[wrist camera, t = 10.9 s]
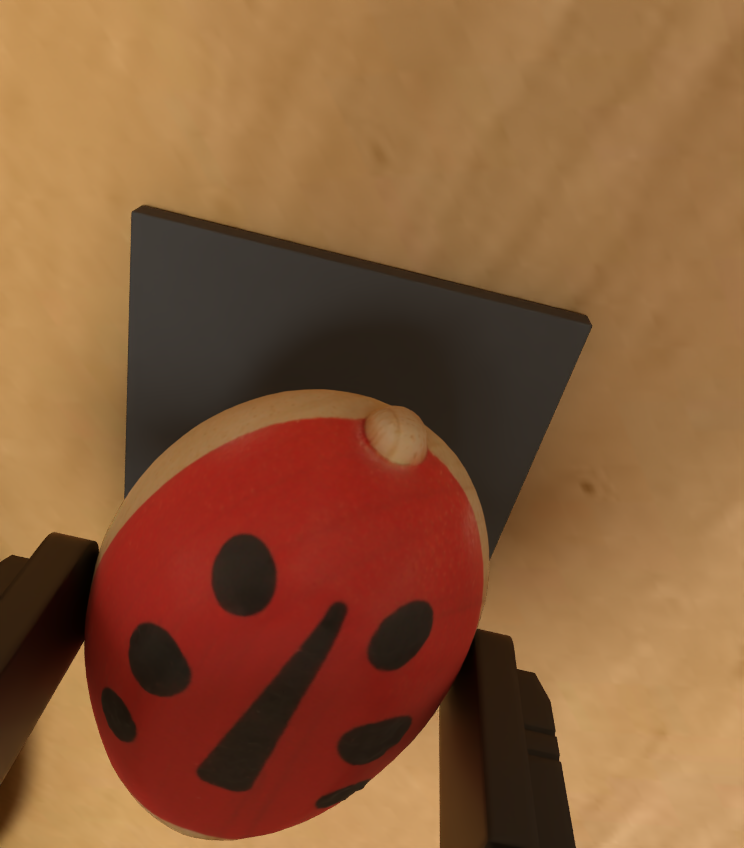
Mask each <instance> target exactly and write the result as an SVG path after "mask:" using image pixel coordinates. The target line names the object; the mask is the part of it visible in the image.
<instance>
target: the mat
mask: <svg viewBox="0 0 744 848" xmlns="http://www.w3.org/2000/svg"><path fill="white" fill-rule="evenodd" d="M591 328H592V324H591V323H590V321H589V319H588V317H587V316H586V315H582V314H578V313H573V312H569V311H565V310H561V309H557V308H553V307H549V306H545V305H541V304H537V303H533V302H529V301H525V300H521V299H517V298H513V297H509V296H505V295H501V294H497V293H493V292H489V291H485V290H481V289H477V288H473V287H469V286H465V285H461V284H457V283H453V282H449V281H445V280H441V279H437V278H433V277H429V276H425V275H421V274H417V273H413V272H409V271H405V270H401V269H397V268H393V267H389V266H385V265H380V264H376V263H372V262H368V261H364V260H360V259H356V258H352V257H348V256H344V255H340V254H336V253H332V252H328V251H324V250H320V249H316V248H312V247H308V246H304V245H300V244H296V243H292V242H288V241H284V240H280V239H276V238H272V237H268V236H264V235H260V234H256V233H252V232H248V231H244V230H240V229H236V228H232V227H228V226H224V225H220V224H216V223H212V222H208V221H204V220H200V219H196V218H191V217H187V216H183V215H179V214H175V213H171V212H167V211H163V210H159V209H155V208H151V207H147V206H141V207H139V208H137V209H135V210H134V211H132V217H131V257H130V297H129V336H128V376H127V415H126V455H125V494H124V500H125V498H126V497H127V495H128V494H129V492H130V490H131V489H132V488H133V486H134V485H135V484H136V482H137V481H138V480H139V478H140V477H141V476H142V475H143V474H144V472H145V471H146V470H147V469H148V468H149V467H150V466H151V465H152V463H153V462H154V461H155V460H156V459H157V458H158V457H159V456H160V455H161V454H162V453H164V452H165V451H166V450H167V449H168V448H169V447H170V446H171V445H172V444H174V443H175V442H176V441H177V440H179V439H180V438H181V437H182V436H183V435H185V434H186V433H187V432H189V431H190V430H192V429H193V428H194V427H196V426H197V425H199V424H200V423H202V422H204V421H206V420H207V419H209V418H211V417H213V416H215V415H217V414H219V413H221V412H223V411H225V410H227V409H229V408H232V407H234V406H236V405H239V404H242V403H244V402H247V401H250V400H253V399H256V398H260V397H263V396H266V395H271V394H275V393H280V392H285V391H295V390H312V389H326V390H336V391H343V392H350V393H354V394H359V395H363V396H367V397H371V398H374V399H377V400H379V401H381V402H384V403H386V404H388V405H391V406H402V407H405V408H407V409H409V410H411V411H413V412H414V413H415V414H416V415H418V416H419V418H420V419H421V420H422V422H423V424H424V425H425V426H427V427H428V428H429V429H430V430H432V431H433V432H434V433H435V434H436V435H437V436H439V437H440V438H441V439H442V440H443V441H444V442H445V443H446V444H447V446H448V447H449V448H450V449H451V450H452V451H453V452H454V453H455V455H456V456H457V457H458V459H459V460H460V462H461V463H462V465H463V466H464V468H465V469H466V471H467V473H468V475H469V477H470V479H471V481H472V483H473V485H474V488H475V490H476V492H477V495H478V498H479V501H480V504H481V507H482V511H483V515H484V519H485V524H486V530H487V535H488V544H489V560H490V558H491V556H492V554H493V551H494V549H495V547H496V544H497V542H498V540H499V538H500V535H501V533H502V531H503V528H504V526H505V524H506V522H507V519H508V517H509V515H510V513H511V510H512V508H513V506H514V503H515V501H516V499H517V497H518V494H519V492H520V490H521V487H522V485H523V483H524V481H525V478H526V476H527V474H528V472H529V469H530V467H531V465H532V462H533V460H534V458H535V456H536V453H537V451H538V449H539V446H540V444H541V442H542V440H543V437H544V435H545V433H546V430H547V428H548V426H549V424H550V421H551V419H552V417H553V415H554V412H555V410H556V408H557V405H558V403H559V401H560V399H561V396H562V394H563V392H564V389H565V387H566V385H567V383H568V380H569V378H570V376H571V374H572V371H573V369H574V367H575V364H576V362H577V360H578V358H579V355H580V353H581V351H582V348H583V346H584V344H585V342H586V339H587V337H588V335H589V333H590V330H591Z"/></svg>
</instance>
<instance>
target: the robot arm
mask: <svg viewBox="0 0 744 848" xmlns="http://www.w3.org/2000/svg"><path fill="white" fill-rule="evenodd" d="M98 554H99V547H98V544H97V542H96V541H91V540H87V539H83V538H78V537H74V536H69V535H65V534H60V533H56V532H53V533H51V534H49V535H48V536H47V537H46V538H45V539H44V541H43V542H42V543H41V544H40V546H39V547H38V548H37V550H36V551H35V552H34V553H33V555H32V556H31V557H30V559H28V558H23V557H19V556H14V555H11V556H9V557H8V558H6V559H4V560H3V561H1V562H0V785H1V783H2V782H3V780H4V778H5V776H6V775H7V773H8V771H9V770H10V768H11V766H12V764H13V763H14V761H15V759H16V757H17V756H18V754H19V752H20V751H21V749H22V747H23V745H24V744H25V742H26V740H27V738H28V737H29V735H30V733H31V732H32V730H33V728H34V726H35V725H36V723H37V721H38V720H39V718H40V716H41V714H42V713H43V711H44V709H45V707H46V706H47V704H48V702H49V701H50V699H51V697H52V695H53V694H54V692H55V690H56V688H57V687H58V685H59V683H60V682H61V680H62V678H63V676H64V675H65V673H66V671H67V669H68V668H69V666H70V664H71V663H72V661H73V659H74V657H75V656H76V654H77V652H78V650H79V649H80V647H81V645H82V644H83V642H84V634H85V619H86V612H87V605H88V599H89V593H90V588H91V583H92V578H93V574H94V569H95V564H96V561H97V558H98ZM555 731H556V730H555V725H554V719H553V713H552V707H551V702H550V700H549V698H548V696H547V694H546V692H545V691H544V689H543V687H542V685H541V683H540V682H539V680H538V678H537V676H536V674H535V673H532V672H528V671H523V670H519V669H517V667H516V659H515V651H514V645H513V641H512V638H511V637H510V636H507V635H503V634H498V633H494V632H489V631H485V630H480V629H477V630H476V632H475V635H474V638H473V640H472V643H471V645H470V648H469V651H468V653H467V656H466V658H465V660H464V662H463V664H462V667H461V669H460V671H459V673H458V675H457V677H456V679H455V681H454V682H453V684H452V686H451V688H450V689H449V691H448V693H447V694H446V696H445V698H444V699H443V701H442V702H441V704H440V708H439V765H440V848H576V846H575V840H574V834H573V829H572V823H571V817H570V811H569V806H568V800H567V794H566V788H565V782H564V777H563V771H562V765H561V762H559V756H560V754H559V748H558V742H557V737H555Z"/></svg>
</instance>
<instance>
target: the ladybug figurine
mask: <svg viewBox="0 0 744 848" xmlns="http://www.w3.org/2000/svg"><path fill="white" fill-rule="evenodd" d="M488 580H489V544H488V535H487V530H486V524H485V519H484V515H483V511H482V507H481V504H480V501H479V498H478V495H477V492H476V490H475V488H474V485H473V483H472V481H471V479H470V477H469V475H468V473H467V471H466V469H465V468H464V466H463V465H462V463H461V462H460V460H459V459H458V457H457V456H456V455H455V453H454V452H453V451H452V450H451V449H450V448H449V447H448V446H447V444H446V443H445V442H444V441H443V440H442V439H441V438H440V437H439V436H437V435H436V434H435V433H434V432H433V431H432V430H430V429H429V428H428V427H427V426H425V425H424V424H423V422H422V420H421V419H420V418H419V416H418V415H416V414H415V413H414V412H413V411H411V410H409V409H407V408H405V407H402V406H391V405H388V404H386V403H384V402H381V401H379V400H377V399H374V398H371V397H367V396H363V395H359V394H354V393H350V392H343V391H336V390H326V389H312V390H295V391H285V392H280V393H275V394H271V395H266V396H263V397H260V398H256V399H253V400H250V401H247V402H244V403H242V404H239V405H236V406H234V407H232V408H229V409H227V410H225V411H223V412H221V413H219V414H217V415H215V416H213V417H211V418H209V419H207V420H206V421H204V422H202V423H200V424H199V425H197V426H196V427H194V428H193V429H192V430H190V431H189V432H187V433H186V434H185V435H183V436H182V437H181V438H180V439H179V440H177V441H176V442H175V443H174V444H172V445H171V446H170V447H169V448H168V449H167V450H166V451H165V452H164V453H162V454H161V455H160V456H159V457H158V458H157V459H156V460H155V461H154V462H153V463H152V465H151V466H150V467H149V468H148V469H147V470H146V471H145V472H144V474H143V475H142V476H141V477H140V478H139V480H138V481H137V482H136V484H135V485H134V486H133V488H132V489H131V490H130V492H129V494H128V495H127V497H126V498H125V500H124V501H123V503H122V504H121V506H120V508H119V510H118V511H117V513H116V515H115V517H114V519H113V521H112V523H111V525H110V527H109V528H108V530H107V533H106V535H105V537H104V540H103V542H102V545H101V548H100V551H99V554H98V558H97V561H96V564H95V569H94V574H93V578H92V583H91V588H90V593H89V599H88V605H87V612H86V619H85V634H84V655H85V667H86V678H87V683H88V689H89V695H90V700H91V704H92V709H93V713H94V716H95V720H96V723H97V726H98V730H99V733H100V736H101V739H102V742H103V744H104V747H105V750H106V752H107V755H108V757H109V760H110V762H111V764H112V766H113V768H114V770H115V771H116V773H117V775H118V777H119V778H120V780H121V781H122V782H123V784H124V785H125V787H126V788H127V789H128V791H129V792H130V793H131V795H132V796H133V797H134V798H135V800H136V801H137V802H138V803H139V804H140V805H141V806H142V807H143V808H144V809H145V810H146V811H147V812H149V813H150V814H151V815H152V816H153V817H155V818H156V819H157V820H159V821H160V822H162V823H163V824H165V825H166V826H168V827H169V828H171V829H173V830H175V831H177V832H179V833H181V834H184V835H187V836H190V837H194V838H200V839H206V840H221V841H223V840H237V839H244V838H249V837H255V836H261V835H266V834H270V833H274V832H277V831H280V830H283V829H286V828H289V827H292V826H294V825H297V824H300V823H302V822H304V821H307V820H309V819H311V818H313V817H315V816H317V815H319V814H321V813H323V812H325V811H326V810H328V809H330V808H332V807H333V806H335V805H337V804H338V803H340V802H341V801H343V800H345V799H347V798H348V797H349V796H350V795H352V794H353V793H354V792H355V791H358V790H361V789H363V788H364V786H365V785H366V784H367V783H368V782H369V781H370V780H371V779H372V778H373V777H375V776H376V775H377V774H378V773H379V772H381V771H382V770H383V769H384V768H385V767H386V766H387V765H388V764H390V763H391V762H392V761H393V760H394V759H395V758H396V757H397V756H398V755H399V754H400V753H401V752H402V751H403V750H404V749H405V748H406V747H407V746H408V745H409V744H410V743H411V742H412V741H413V740H414V739H415V737H416V736H417V735H418V734H419V733H420V731H421V730H422V729H423V728H424V727H425V726H426V724H427V723H428V721H429V720H430V719H431V717H432V716H433V715H434V713H435V712H436V710H437V709H438V707H439V705H440V704H441V702H442V701H443V699H444V698H445V696H446V694H447V693H448V691H449V689H450V688H451V686H452V684H453V682H454V681H455V679H456V677H457V675H458V673H459V671H460V669H461V667H462V664H463V662H464V660H465V658H466V656H467V653H468V651H469V648H470V645H471V643H472V640H473V638H474V635H475V632H476V630H477V627H478V624H479V621H480V617H481V614H482V611H483V607H484V603H485V599H486V594H487V587H488Z"/></svg>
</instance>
